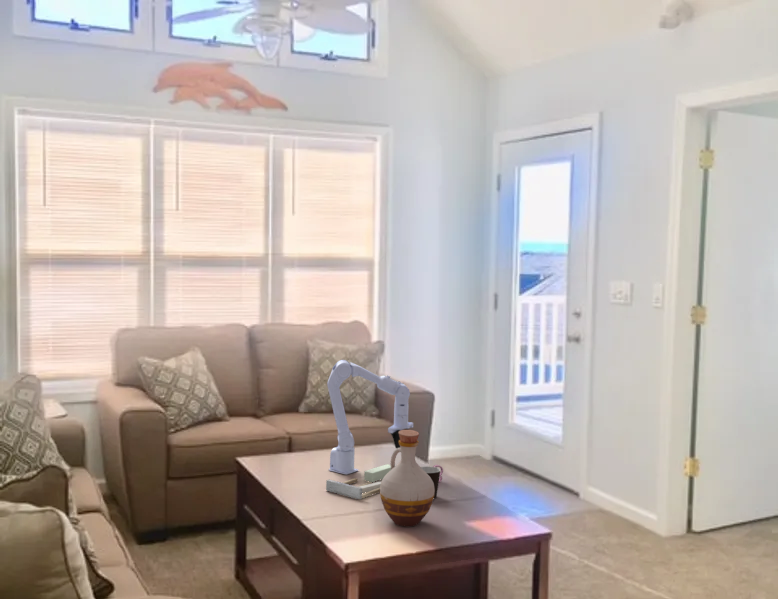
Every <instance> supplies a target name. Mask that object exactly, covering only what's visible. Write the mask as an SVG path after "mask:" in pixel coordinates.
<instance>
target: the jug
mask: <svg viewBox="0 0 778 599" xmlns="http://www.w3.org/2000/svg"><path fill="white" fill-rule="evenodd" d="M398 433H399V437H400V440H399V445H400V448H397V449H396V448H395V450H393V452H392V453H391V457H390V464H389V465H390V466H391V471H389V472H388V473H387V474H386V475H385V476H384V478H383V479H382V480H380V482H381V485H380V492H379V496H380V499H381V504H382V506H383V509H384V512H385V513H386V514H387V515H388V517H389V518H390V519H391V521H392V522H393V523H394V524H395V526H396V525H397V526H400V527H404V528H405V527H406V528H407V527H408V528H410V527H414V526H415V527H416V526H418V525H419V524H420V523H421V521H423V519H424V518H425V517H426V515H427V514H428V513H429V512H430V509H431V507H432V504H433V502H434V499H433V498H434V492H435V489H434V483H433V481H432V479H431V478H430V476H429V475H428V474H427V473H426V472H425V471H424V470H423V469H422V468H421V467H422V466H420V465H419V464H418V463H417V461H416V452H417V448H418V446H419V442H420V441H419V440H418V439H419V436H420V433H419V431H417V430H413V429H410V430H400V431H399V432H398ZM399 453H400V456H401V457H400V461H399V462H398V463H397V464H396V458H397V455H398V454H399ZM395 464H396V465H395Z"/></svg>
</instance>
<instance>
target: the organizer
mask: <svg viewBox="0 0 778 599" xmlns="http://www.w3.org/2000/svg"><path fill="white" fill-rule="evenodd" d="M325 482H326V484H325V487H326V489H325V491H326V490H327V491H326V492H328V491H330V492H329V493H332V492H334V493H333V494H335V493H337V494H336V495H339V494H340V495H339V496H343V495H344V496H343V497H346V496H348V497H347V498H350V497H351V498H350V499H354V498H356V499H355V500H357V499H360V500H363V499H366V498H368V497H367V496H369V497H371V496H373V495H372V494H374V495H376V494H375V493H377V494H378V492H379V493H380V488H377V489H374V490H372V491H369V492H366V493H363V494H362V488H360V487H359V486H364V485H368V484H372V482H366V483H363V484H360V485H357V486H355V485H352V483H353V484H355V483H354V482H356V483H358V478H356V477H355V478H351V479H349V480H346V481H343V482H341V481H336V480H334V479H333V480H332V479H327V480H326V481H325ZM349 484H350V485H349ZM370 495H371V496H370ZM365 497H366V498H365ZM362 498H363V499H362Z"/></svg>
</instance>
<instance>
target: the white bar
mask: <svg viewBox="0 0 778 599" xmlns="http://www.w3.org/2000/svg"><path fill="white" fill-rule="evenodd" d="M380 485H381V481H376V482H373V483H372V484H368V485H364V486H359V485H358V486H359V487H360V488H362V493H365V492H369V491H372V490H374V489H377V488H380Z"/></svg>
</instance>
